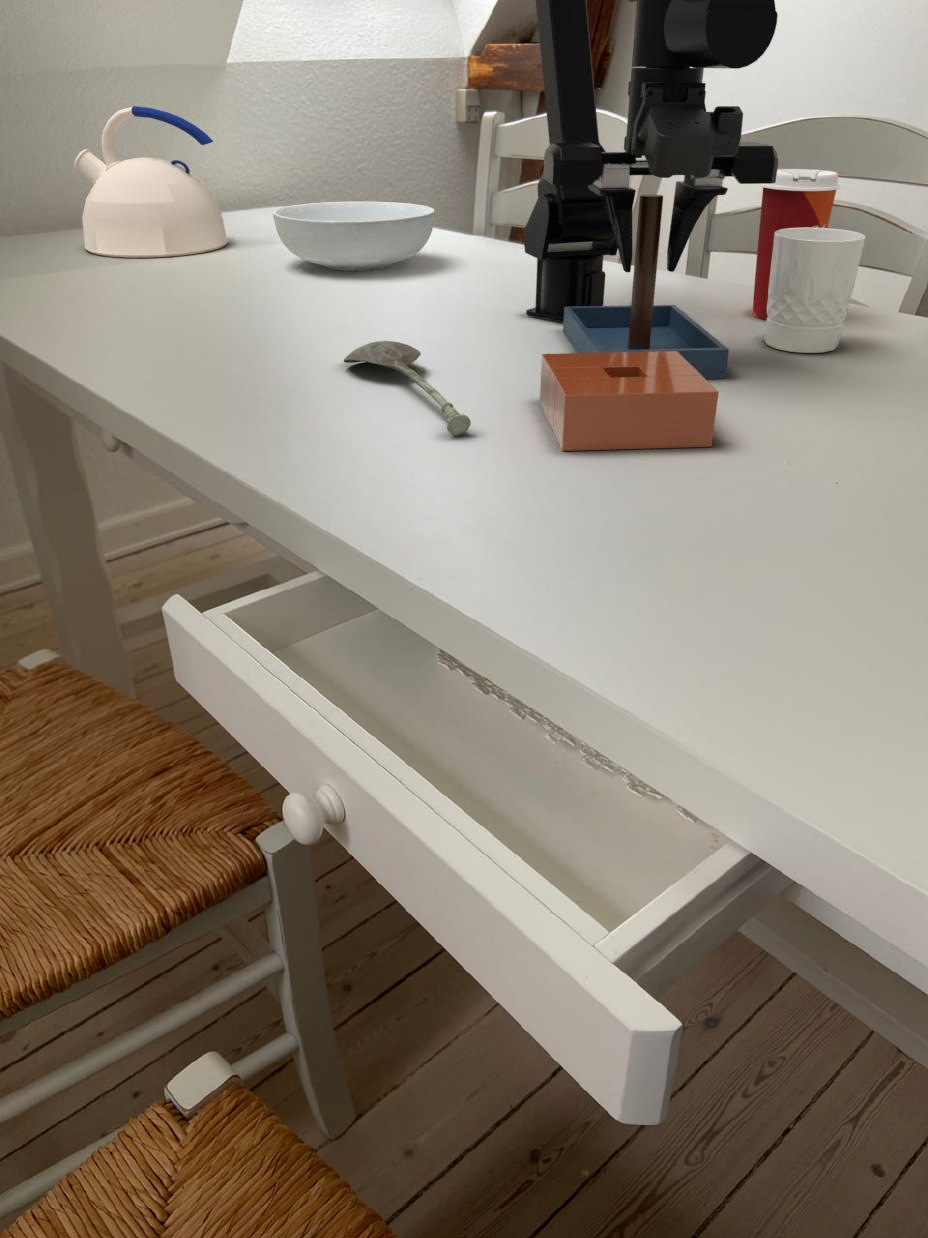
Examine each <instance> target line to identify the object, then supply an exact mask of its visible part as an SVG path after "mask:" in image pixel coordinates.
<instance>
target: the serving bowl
mask: <svg viewBox="0 0 928 1238" xmlns="http://www.w3.org/2000/svg"><path fill="white" fill-rule="evenodd" d="M435 216H436V210H435V208H433V207H431V206H427V205H424V204H423V205H422V204H416V203H407V202H395V201H393V202H392V201H359V200H358V201H326V202H312V203H302V204H293V205H288V206H283V207H279V208H276V209H275V210H274V211H273V212H272V217H273V221H274V226H275V229H276V232H277V235H278V237H279V239H280V240H281V242H282V243H283V245H284V247H285V248H286V249H287V250H288V251H289V252H290V253H292V254H293V255H294V256H295V257H296V258H297V257H298V258H299V259H301V260H303V261H306V262H309V263H312V264H315V265H320V266H322V267H323V268H326V269H329V270H334V271H348V272H350V271H351V272H359V271H360V272H362V271H374V270H380V269H385V268H388V267H390V266H391V265H392V264H396V263H399V262H402V261H405V260H407V259H409V258H412V257H414V256H415V255H416V254H418V253H419V252H420V251H421V250H422V249H423V248H424V247H425V245H426V244H427V243H428V241H429V239H430V237H431V235H432V232H433V229H434V223H435Z"/></svg>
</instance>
